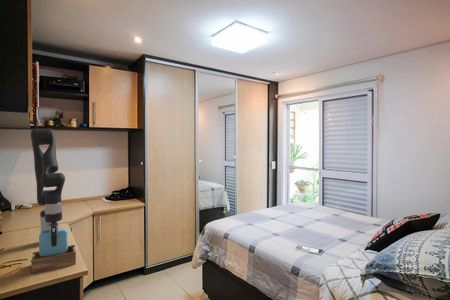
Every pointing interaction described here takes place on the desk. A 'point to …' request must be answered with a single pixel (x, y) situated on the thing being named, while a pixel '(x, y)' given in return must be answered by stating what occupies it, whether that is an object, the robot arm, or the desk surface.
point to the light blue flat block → (45, 243)
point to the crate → (53, 260)
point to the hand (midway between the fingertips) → (54, 244)
